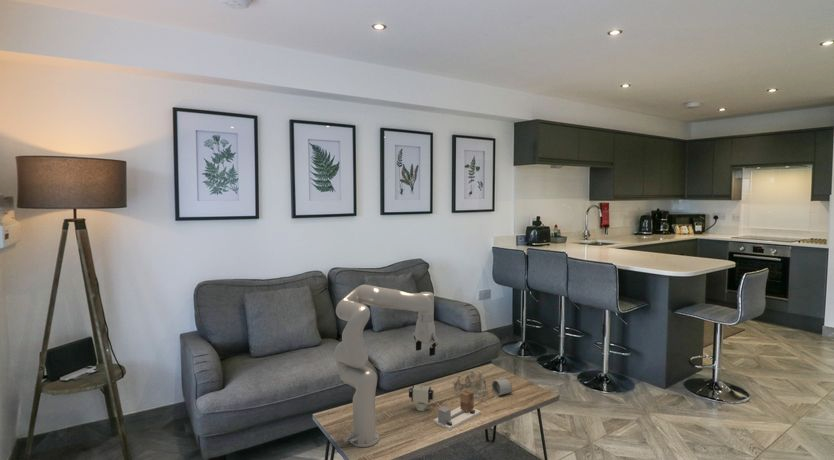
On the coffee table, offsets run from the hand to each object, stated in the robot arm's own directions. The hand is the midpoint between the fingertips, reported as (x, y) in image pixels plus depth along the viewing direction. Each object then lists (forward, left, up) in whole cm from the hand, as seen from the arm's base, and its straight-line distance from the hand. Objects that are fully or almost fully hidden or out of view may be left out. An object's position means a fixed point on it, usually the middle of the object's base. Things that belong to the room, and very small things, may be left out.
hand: (425, 352), depth 220 cm
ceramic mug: (+41, -15, -28) cm, 52 cm away
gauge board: (+4, -17, -28) cm, 33 cm away
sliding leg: (+11, -18, -26) cm, 34 cm away
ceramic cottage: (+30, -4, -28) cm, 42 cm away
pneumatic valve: (-2, +1, -28) cm, 28 cm away
